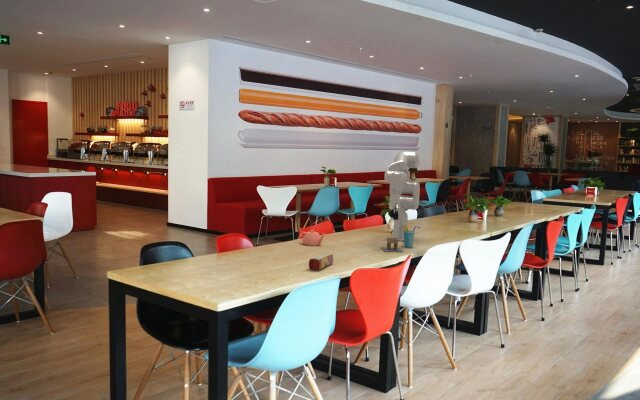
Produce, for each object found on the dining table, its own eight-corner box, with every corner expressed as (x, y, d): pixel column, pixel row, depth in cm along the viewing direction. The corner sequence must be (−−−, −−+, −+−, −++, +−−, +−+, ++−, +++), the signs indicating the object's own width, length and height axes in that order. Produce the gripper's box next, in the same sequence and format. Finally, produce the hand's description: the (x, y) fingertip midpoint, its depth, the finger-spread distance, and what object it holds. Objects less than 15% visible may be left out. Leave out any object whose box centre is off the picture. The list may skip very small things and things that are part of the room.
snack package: (322, 263, 312) (323, 251, 312) (334, 264, 310) (334, 252, 309) (307, 270, 293) (308, 257, 292) (319, 272, 290) (320, 259, 290)
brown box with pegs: (386, 248, 362) (387, 237, 362) (395, 248, 363) (396, 237, 362) (388, 250, 357) (389, 239, 356) (397, 250, 357) (398, 239, 356)
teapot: (305, 241, 375) (306, 227, 374) (329, 245, 366) (330, 230, 365) (296, 244, 365) (296, 229, 364) (320, 248, 356) (321, 233, 355)
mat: (381, 248, 365) (381, 247, 365) (399, 248, 366) (399, 247, 366) (384, 251, 353) (384, 251, 353) (403, 252, 354) (403, 251, 354)
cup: (421, 248, 370) (423, 225, 369) (415, 249, 364) (417, 226, 363) (403, 245, 379) (404, 223, 378) (397, 246, 373) (398, 224, 372)
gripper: (386, 190, 364) (385, 216, 366) (392, 192, 347) (390, 220, 349) (398, 190, 365) (396, 216, 367) (404, 193, 348) (402, 220, 350)
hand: (393, 218), depth 358 cm, fingers open, 9 cm apart
